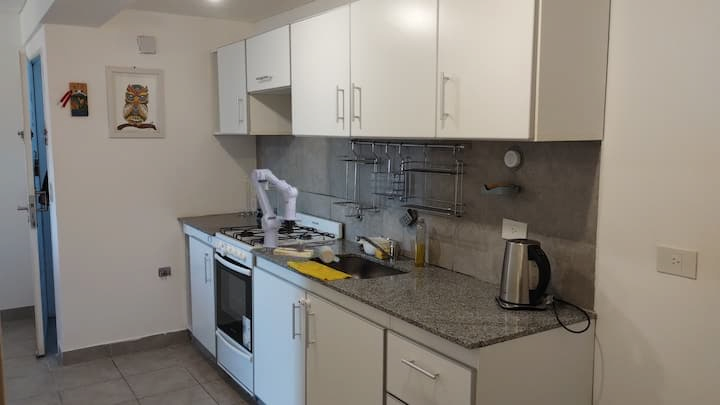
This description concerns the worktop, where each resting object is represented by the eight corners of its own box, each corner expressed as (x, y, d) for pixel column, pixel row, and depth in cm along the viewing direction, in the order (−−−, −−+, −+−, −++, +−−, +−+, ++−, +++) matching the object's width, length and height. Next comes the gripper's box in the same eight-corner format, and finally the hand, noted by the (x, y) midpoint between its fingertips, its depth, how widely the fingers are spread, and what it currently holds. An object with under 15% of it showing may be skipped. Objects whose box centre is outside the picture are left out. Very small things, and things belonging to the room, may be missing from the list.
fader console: (277, 250, 316) (277, 247, 316) (313, 253, 314) (313, 249, 314) (273, 254, 307) (273, 250, 307) (310, 257, 306) (310, 253, 305)
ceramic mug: (320, 263, 295) (322, 249, 293) (317, 259, 302) (318, 245, 301) (341, 263, 298) (342, 249, 297) (336, 259, 305) (338, 245, 304)
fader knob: (299, 249, 312) (299, 242, 312) (304, 250, 312) (304, 242, 311) (297, 251, 308) (297, 243, 308) (303, 251, 308) (303, 244, 307)
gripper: (275, 209, 310) (274, 234, 312) (301, 211, 309) (300, 236, 311) (278, 207, 317) (277, 232, 319) (304, 209, 316) (303, 234, 318)
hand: (289, 234), depth 316 cm, fingers closed
